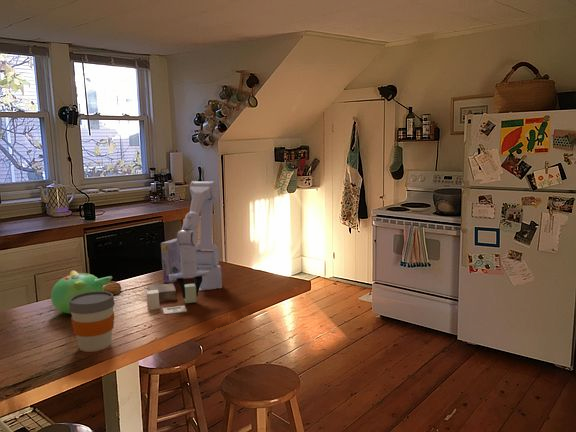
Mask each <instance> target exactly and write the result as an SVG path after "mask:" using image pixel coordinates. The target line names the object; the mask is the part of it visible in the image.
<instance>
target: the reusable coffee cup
mask: <svg viewBox="0 0 576 432" xmlns="http://www.w3.org/2000/svg"><path fill="white" fill-rule="evenodd" d="M114 306H115V299H114V294H112V293H110V292H105V291H94V292H87V293H82V294H78V295H76V296H73V297H72V298H71V299H70V301H69V311H70V312H71V314H70V315H71V317H70V321H71V325H72V329H73V334H75V336H76V339H77V343H78V348H79V350H80V351H82V352H88V353H89V352H98V351H101V350H104V349H107V348H109V347H110V346H111V345H112V334H113V329H114V327H115V326H114V324H115V323H114V322H115V321H114V320H115V311H114Z"/></svg>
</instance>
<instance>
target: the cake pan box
mask: <svg viewBox="0 0 576 432" xmlns="http://www.w3.org/2000/svg"><path fill="white" fill-rule="evenodd" d="M160 249H161V251H160V253H161V267H162V278H163V279H162V280H163V283H166V284H171V283H173V284H174V283H175V282H177V280H172V281H170V280H169V274H175V273H180V272H181V259H180V250H179V248H178V243H177V237H176V238H173V239H170V240H166V241H163V242H160Z"/></svg>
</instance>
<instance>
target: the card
mask: <svg viewBox="0 0 576 432" xmlns="http://www.w3.org/2000/svg"><path fill="white" fill-rule="evenodd" d="M162 312H163V315H173V314H178V313H186V312H188V309H187V308H186V305H177V306H171V307H170V306H169V307H162Z"/></svg>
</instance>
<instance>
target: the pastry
mask: <svg viewBox="0 0 576 432" xmlns="http://www.w3.org/2000/svg"><path fill="white" fill-rule="evenodd" d="M103 287H104V291H105V292H110V293H112V294H113V295H119V294H120V293H121V292H122V286H121V284H120V282H117V281H113V280H110V281H109V282H108V283H106V284H105V285H104V286H103Z"/></svg>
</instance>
